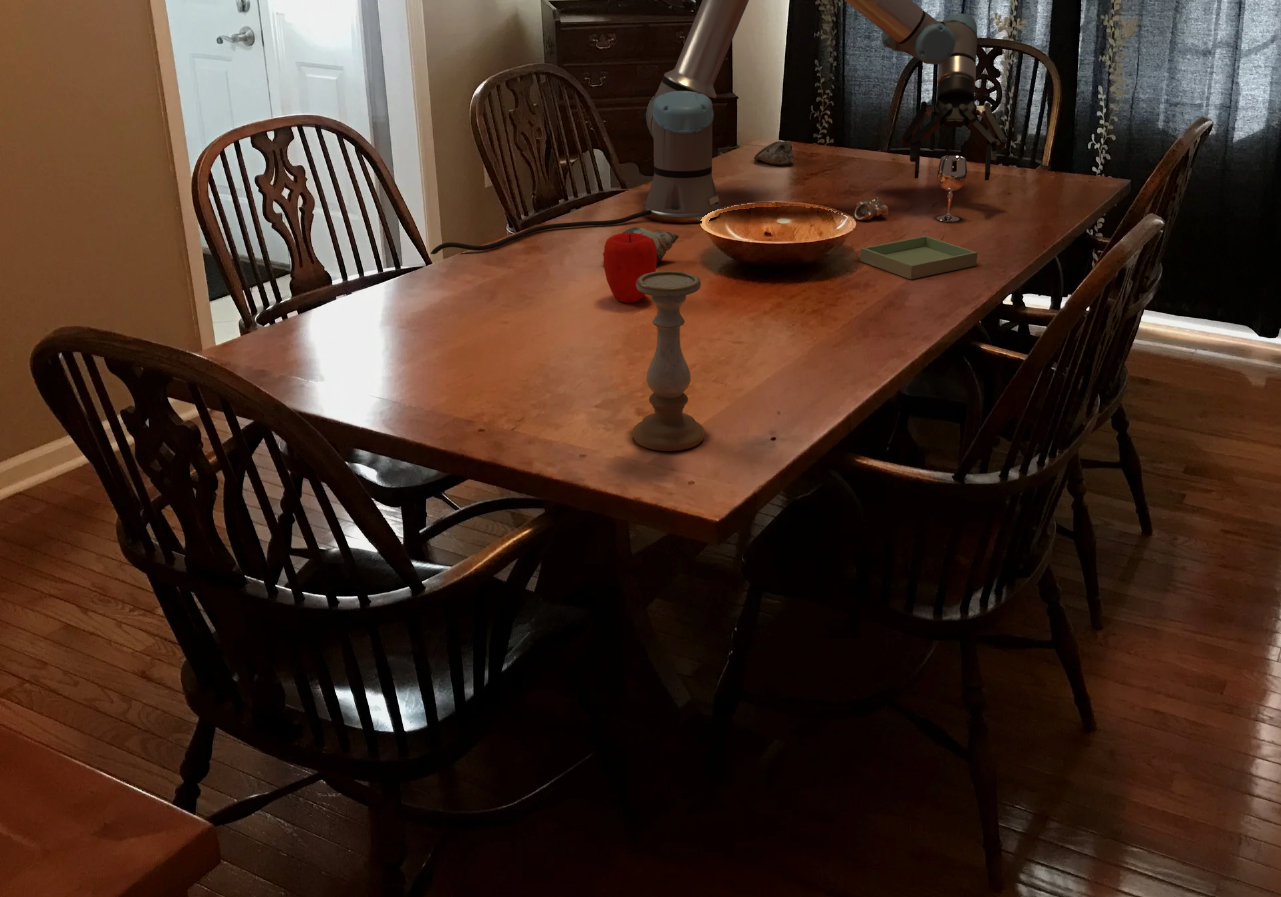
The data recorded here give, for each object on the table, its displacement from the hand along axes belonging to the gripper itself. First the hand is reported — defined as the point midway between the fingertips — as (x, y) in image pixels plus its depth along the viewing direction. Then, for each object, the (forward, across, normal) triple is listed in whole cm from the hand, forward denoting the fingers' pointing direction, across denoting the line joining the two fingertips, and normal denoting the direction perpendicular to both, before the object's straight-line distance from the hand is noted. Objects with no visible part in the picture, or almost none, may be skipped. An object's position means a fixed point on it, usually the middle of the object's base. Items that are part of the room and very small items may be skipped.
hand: (951, 175), depth 250 cm
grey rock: (-26, +38, -38) cm, 60 cm away
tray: (+30, +6, +18) cm, 36 cm away
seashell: (+35, +55, +24) cm, 69 cm away
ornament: (+8, +15, -4) cm, 18 cm away
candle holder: (+87, +37, +76) cm, 121 cm away
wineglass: (+7, 0, -4) cm, 9 cm away
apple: (+50, +52, +38) cm, 82 cm away
